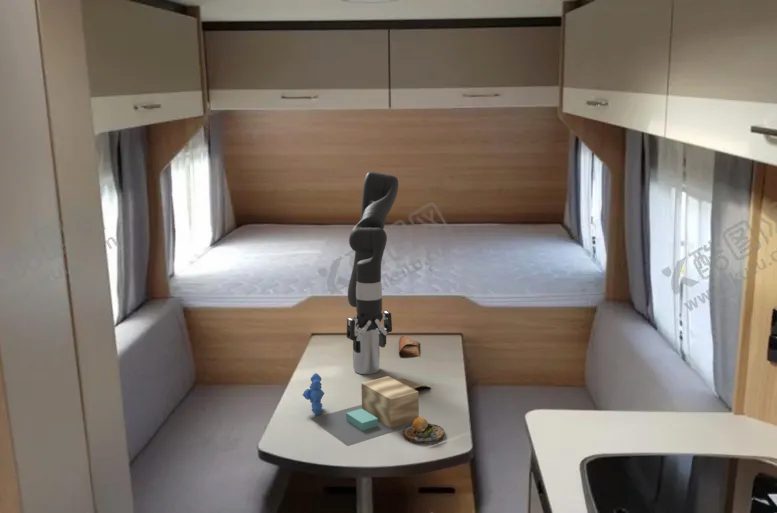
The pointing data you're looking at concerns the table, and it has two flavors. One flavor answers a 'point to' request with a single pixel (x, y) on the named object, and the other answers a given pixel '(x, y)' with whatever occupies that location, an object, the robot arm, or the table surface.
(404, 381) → the clay tablet
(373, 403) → the oak block
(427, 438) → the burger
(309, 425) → the table surface
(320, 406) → the blue knobby sculpture
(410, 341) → the sunglasses case
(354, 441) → the mat
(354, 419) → the card box
